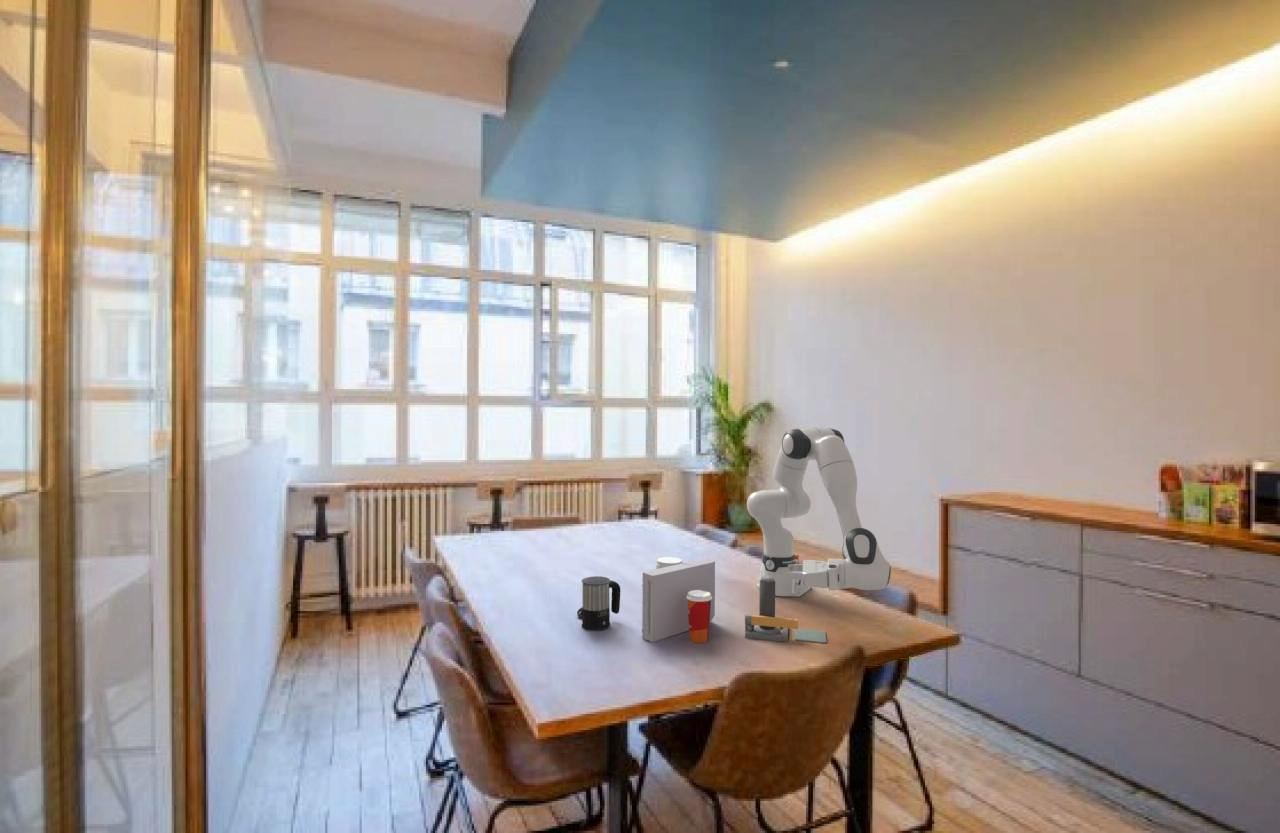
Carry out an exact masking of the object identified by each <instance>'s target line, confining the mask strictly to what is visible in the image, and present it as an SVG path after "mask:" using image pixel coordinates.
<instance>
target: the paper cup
mask: <svg viewBox="0 0 1280 833" xmlns="http://www.w3.org/2000/svg"><path fill="white" fill-rule="evenodd" d="M686 598H687V599H688V619H689V630H688V634H689V641H690V642H693V643H695V644H705V643H707V642H708V641H709V635H710V624H711V623H710V607H711V599H712V597H711V594H710V592H707V591H702V590H693V591H690V592H688V595H687V597H686ZM709 623H710V624H709Z"/></svg>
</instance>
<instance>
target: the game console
mask: <svg viewBox="0 0 1280 833" xmlns="http://www.w3.org/2000/svg"><path fill="white" fill-rule="evenodd" d="M641 580H642V585H641V586H642V614H641V615H642V616H641V617H642V621H641V622H642V624H641V626H642V628H641V634H642V635H641V636H642V639H644V640H646V641H648V640H649V642H651V643H654V642H657V641H660V640H663V639H666V638H669V637H672V636H675V635H678V634H681V633H684V632H687V631H688V632H689V619H688V599H687V598H686V597H687V595H688V592H690V591H693V590H702V591H707V592H710V594H711V597H712V599H711V607H710V623H709V625H710V624H711V623H712V620H713V619H714V618H715V614H716V613H715V612H716V611H715V608H716V607H715V605H716V603H715V602H716V598H715V597H716V561H714V560H709V559H706V558H699V559H695V560H689V561H686V562H682V564H678V565H673V566H668V567H664V568H659V569H656V568H655V569H650V570H643V571H642V579H641ZM659 639H660V640H659ZM653 641H654V642H653Z"/></svg>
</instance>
